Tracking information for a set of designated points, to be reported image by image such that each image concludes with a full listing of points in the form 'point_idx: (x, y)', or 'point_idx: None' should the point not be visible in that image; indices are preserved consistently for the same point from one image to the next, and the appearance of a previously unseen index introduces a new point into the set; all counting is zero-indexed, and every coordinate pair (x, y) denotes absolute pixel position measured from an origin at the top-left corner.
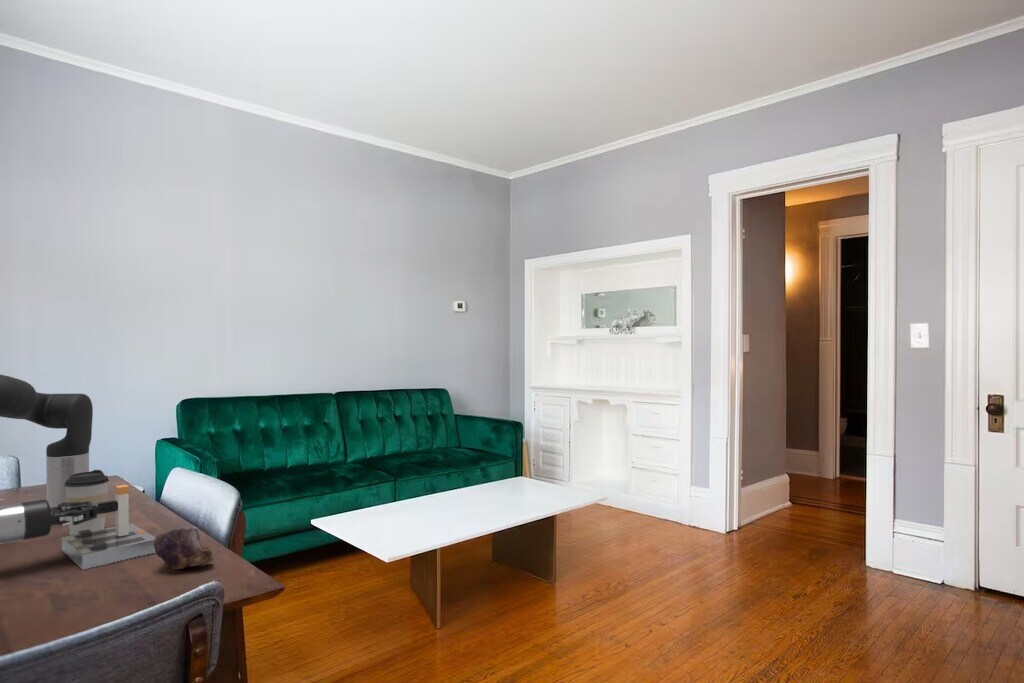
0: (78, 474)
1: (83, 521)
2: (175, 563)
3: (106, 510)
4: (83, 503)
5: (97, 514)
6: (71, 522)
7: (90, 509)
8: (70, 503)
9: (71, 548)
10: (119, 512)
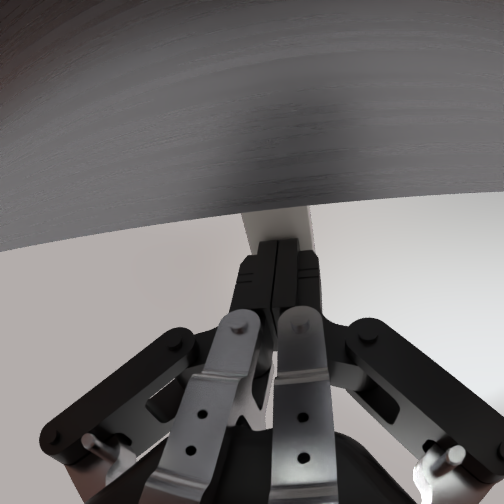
0: None
1: (78, 405)
2: None
3: (237, 293)
4: (358, 402)
5: (225, 321)
6: (159, 469)
7: (153, 401)
8: (420, 457)
9: (43, 154)
10: (247, 227)
